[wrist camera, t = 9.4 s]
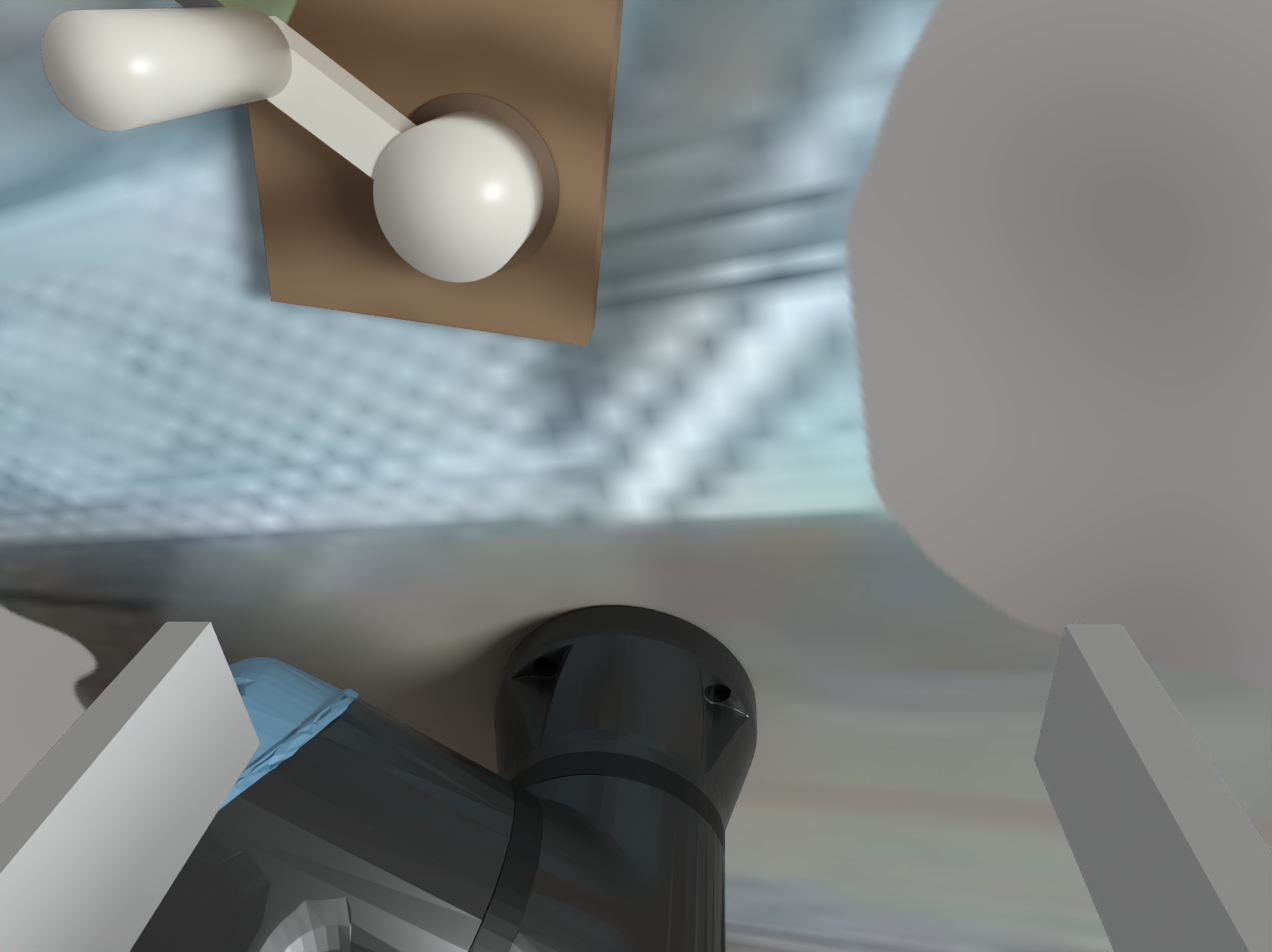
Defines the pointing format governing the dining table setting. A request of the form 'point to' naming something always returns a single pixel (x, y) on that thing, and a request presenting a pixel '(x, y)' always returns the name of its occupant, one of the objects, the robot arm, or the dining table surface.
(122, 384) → the dining table surface
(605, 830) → the robot arm
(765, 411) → the dining table surface
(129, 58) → the peg
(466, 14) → the board
